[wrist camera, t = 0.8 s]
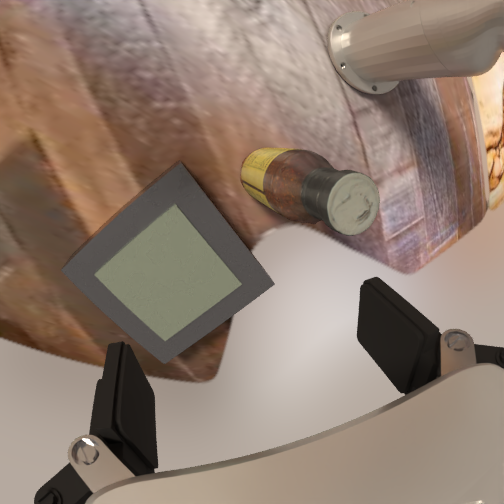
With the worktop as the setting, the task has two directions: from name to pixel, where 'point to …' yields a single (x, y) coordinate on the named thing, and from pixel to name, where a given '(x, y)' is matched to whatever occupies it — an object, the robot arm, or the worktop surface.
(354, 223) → the sauce bottle
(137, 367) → the robot arm
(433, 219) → the worktop surface
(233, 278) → the stand
